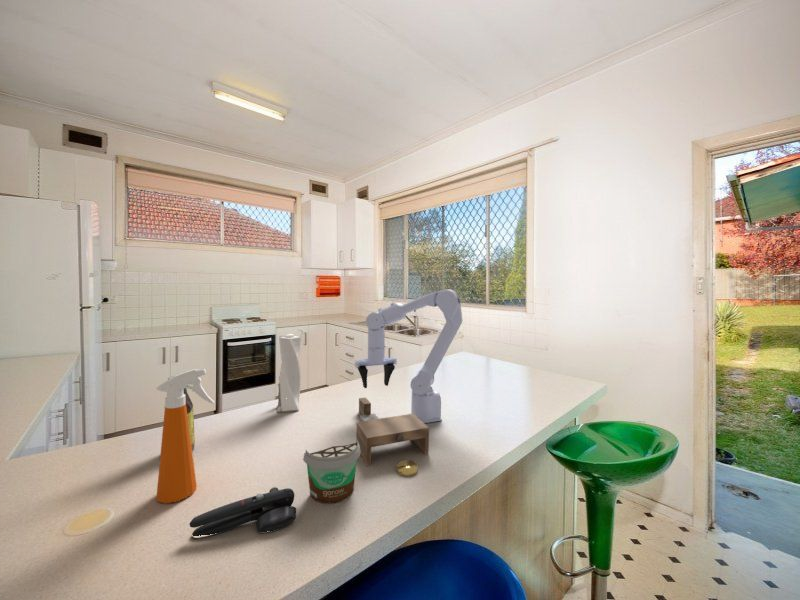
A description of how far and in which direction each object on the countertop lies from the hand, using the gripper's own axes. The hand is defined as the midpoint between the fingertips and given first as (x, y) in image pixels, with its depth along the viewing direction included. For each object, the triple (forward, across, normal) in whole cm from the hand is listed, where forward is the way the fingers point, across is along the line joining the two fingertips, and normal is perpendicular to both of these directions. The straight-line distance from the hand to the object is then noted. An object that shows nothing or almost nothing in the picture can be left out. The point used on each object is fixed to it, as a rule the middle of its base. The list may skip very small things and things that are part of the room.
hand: (375, 386), depth 115 cm
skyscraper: (+10, +27, -14) cm, 32 cm away
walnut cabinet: (+9, +4, +26) cm, 28 cm away
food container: (+10, +22, +40) cm, 47 cm away
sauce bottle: (+10, +56, +7) cm, 57 cm away
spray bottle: (+10, +51, +27) cm, 58 cm away
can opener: (+10, +39, +42) cm, 58 cm away
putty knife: (+9, +4, +9) cm, 13 cm away
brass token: (+10, +4, +36) cm, 38 cm away
